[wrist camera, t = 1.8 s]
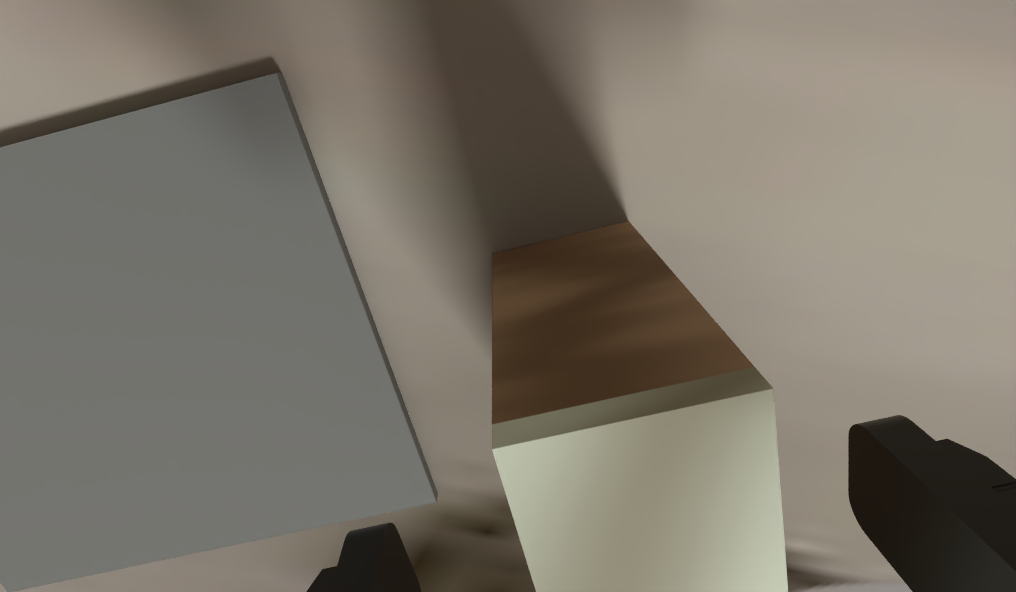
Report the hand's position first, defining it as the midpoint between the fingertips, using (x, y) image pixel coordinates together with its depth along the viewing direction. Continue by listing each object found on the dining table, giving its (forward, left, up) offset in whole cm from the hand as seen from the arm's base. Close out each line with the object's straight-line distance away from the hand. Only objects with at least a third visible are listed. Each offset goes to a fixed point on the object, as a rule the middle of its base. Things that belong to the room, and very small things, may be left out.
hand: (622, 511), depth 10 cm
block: (0, 0, -8) cm, 8 cm away
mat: (+14, -2, -8) cm, 16 cm away
